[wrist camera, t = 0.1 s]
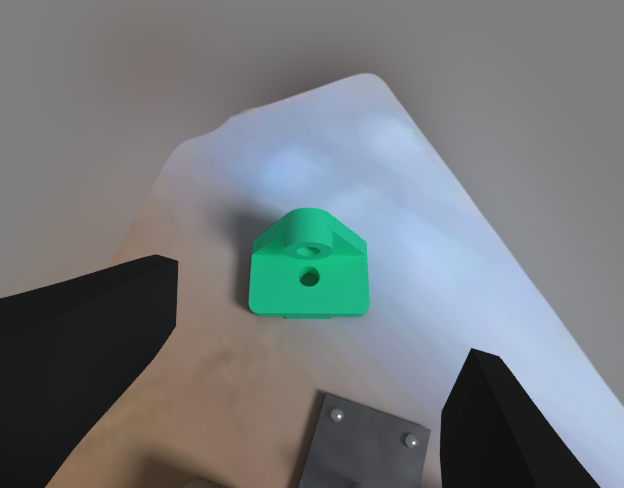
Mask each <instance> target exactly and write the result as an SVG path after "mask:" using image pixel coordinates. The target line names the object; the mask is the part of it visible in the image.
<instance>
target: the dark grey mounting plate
mask: <svg viewBox="0 0 624 488" xmlns="http://www.w3.org/2000/svg"><path fill="white" fill-rule="evenodd" d="M430 431H431V430H430V429H427V428H424V427H421V426H418V425H415V424H413V423H410V422H407V421H404V420H401V419H398V418H395V417H392V416H390V415H387V414H384V413H381V412H378V411H375V410H372V409H370V408H367V407H364V406H361V405H358V404H355V403H352V402H349V401H347V400H344V399H341V398H338V397H335V396H332V395H329V394H326V395H325V399H324V402H323V406H322V409H321V412H320V416H319V419H318V422H317V426H316V429H315V433H314V436H313V439H312V443H311V446H310V449H309V453H308V456H307V460H306V463H305V466H304V470H303V473H302V476H301V480H300V483H299V487H298V488H419V487H420V482H421V476H422V471H423V466H424V461H425V456H426V451H427V446H428V441H429V436H430Z"/></svg>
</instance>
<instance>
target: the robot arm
mask: <svg viewBox="0 0 624 488" xmlns="http://www.w3.org/2000/svg"><path fill="white" fill-rule="evenodd" d="M177 284H178V261H177V260H173V259H170V258H167V257H163V256H160V255H157V254H156V255H151V256H147V257H143V258H139V259H136V260H133V261H129V262H126V263H123V264H119V265H116V266H113V267H110V268H107V269H104V270H100V271H97V272H94V273H90V274H87V275H84V276H81V277H77V278H74V279H71V280H68V281H64V282H60V283H57V284H53V285H50V286H46V287H42V288H38V289H35V290H31V291H27V292H24V293H20V294H17V295H13V296H9V297H4V298H0V488H45V487H46V485H47V484H48V483H49V481H50V480H51V479H52V477H53V476H54V475H55V473H56V472H57V471H58V469H59V468H60V466H61V465H62V464H63V462H64V461H65V460H66V458H67V457H68V456H69V454H70V453H71V452H72V451H73V449H74V448H75V447H76V446H77V445H78V443H79V442H80V441H81V440H82V439H83V437H84V436H85V435H86V434H87V433H88V432H89V430H90V429H91V428H92V427H93V426H94V425H95V424H96V423H97V422H98V421H99V419H100V418H101V417H102V416H103V415H104V414H105V413H106V412H107V411H108V409H109V408H110V407H111V406H112V405H113V404H114V403H115V402H116V401H117V399H118V398H119V397H120V396H121V395H122V394H123V393H124V392H125V391H126V390H127V388H128V387H129V386H130V385H131V384H132V383H133V382H134V381H135V379H136V378H137V377H138V376H139V375H140V374H141V373H142V372H143V370H144V369H145V368H146V367H147V366H148V365H149V364H150V362H151V361H152V360H153V359H154V358H155V356H156V355H157V353H158V352H159V351H160V349H161V348H162V346H163V345H164V343H165V342H166V340H167V339H168V337H169V336H170V334H171V333H172V331H173V330H174V328H175V327H176V309H177ZM440 465H441V477H442V488H600V486H599V485H598V484H597V483H596V482H595V480H594V479H593V478H592V477H591V476H590V474H589V473H588V472H587V471H586V470H585V468H584V467H583V466H582V465H581V464H580V462H579V461H578V460H577V459H576V457H575V456H574V455H573V454H572V452H571V451H570V450H569V448H568V447H567V446H566V445H565V443H564V442H563V441H562V440H561V438H560V437H559V436H558V434H557V433H556V432H555V430H554V429H553V428H552V426H551V425H550V424H549V422H548V421H547V420H546V419H545V417H544V416H543V414H542V413H541V412H540V410H539V409H538V408H537V406H536V405H535V404H534V402H533V401H532V400H531V398H530V397H529V395H528V394H527V393H526V391H525V390H524V389H523V387H522V386H521V384H520V383H519V382H518V380H517V379H516V378H515V376H514V375H513V374H512V372H511V371H510V369H509V368H508V367H507V366H506V364H505V363H504V362H503V360H502V359H501V358H500V357H499V356H496V355H493V354H490V353H486V352H483V351H480V350H476V349H473V348H471V350H470V352H469V354H468V356H467V359H466V361H465V363H464V365H463V367H462V369H461V371H460V373H459V376H458V378H457V380H456V382H455V384H454V386H453V388H452V391H451V393H450V395H449V397H448V399H447V401H446V403H445V406H444V408H443V410H442V414H441V433H440Z"/></svg>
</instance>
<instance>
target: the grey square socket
mask: <svg viewBox="0 0 624 488" xmlns="http://www.w3.org/2000/svg"><path fill="white" fill-rule="evenodd" d="M181 488H226V487H223V486H221V485H218V484H215V483H213V482H210V481H208V480H205V479H203V478H200V477H199V478H198V479H196V480H194V481H192V482H190V483H189V484H187V485H185V486H183V487H181Z"/></svg>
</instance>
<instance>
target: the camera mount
mask: <svg viewBox="0 0 624 488" xmlns="http://www.w3.org/2000/svg"><path fill="white" fill-rule="evenodd" d="M306 274H313V275H315V276H316V277H317V278H318V279H319V281H318V283H317V284H316V285H314V286H311V287H307V286H304V285H303V284H301V282H300V279H301V278H302V277H303V276H304V275H306ZM249 307H250V309H251V311H252V312H253V313H254V314H255V315H256V316H260V317H286V319H332V317H361V316H363V315H364V314H365V313H366V312H367V310H368V308H369V285H368V265H367V245H366V241H364V240H363V239H362V238H360V237H359V236H358V235H357V234H355V233H354V232H353V231H351V230H350V229H349V228H348V227H346V226H345V225H344V224H342V223H341V222H340V221H338V220H337V219H336V218H335V217H333V216H332V215H331V214H329V213H328V212H326V211H324V210H321V209H317V208H300V209H296V210H293V211H291V212H289V213H288V214H286V215H285V216H284V217H283V218H281V219H280V220H279V221H278V222H277V223H275V224H274V225H273V226H272V227H270V228H269V229H268V230H267V231H265V232H264V233H263V234H262V235H261V236H259V237H258V238H257V239H256V240H254V241H253V246H252V260H251V275H250V290H249Z"/></svg>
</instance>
